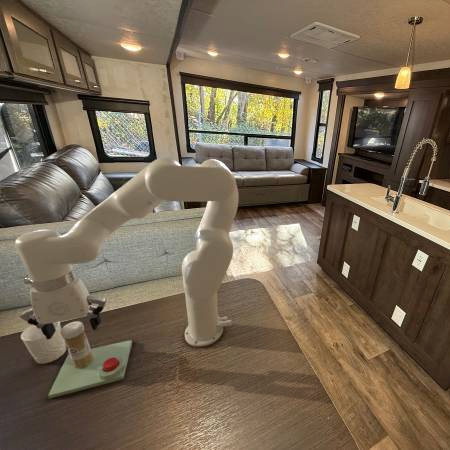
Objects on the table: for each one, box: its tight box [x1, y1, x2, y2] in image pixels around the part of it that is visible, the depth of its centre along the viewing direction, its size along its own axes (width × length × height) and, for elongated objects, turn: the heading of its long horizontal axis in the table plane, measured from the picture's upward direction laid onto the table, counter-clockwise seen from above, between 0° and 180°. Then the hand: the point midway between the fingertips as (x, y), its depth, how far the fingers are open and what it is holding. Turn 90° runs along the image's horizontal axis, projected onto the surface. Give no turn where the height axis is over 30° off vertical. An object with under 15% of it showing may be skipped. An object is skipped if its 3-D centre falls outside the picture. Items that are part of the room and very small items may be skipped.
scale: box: [47, 339, 133, 399], centre depth 71 cm, size 16×13×3 cm
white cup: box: [20, 321, 67, 365], centre depth 72 cm, size 8×8×10 cm
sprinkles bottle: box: [61, 321, 94, 368], centre depth 69 cm, size 5×5×13 cm
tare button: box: [103, 357, 118, 372], centre depth 69 cm, size 3×3×2 cm
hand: (74, 330), depth 67 cm, fingers open, 9 cm apart
